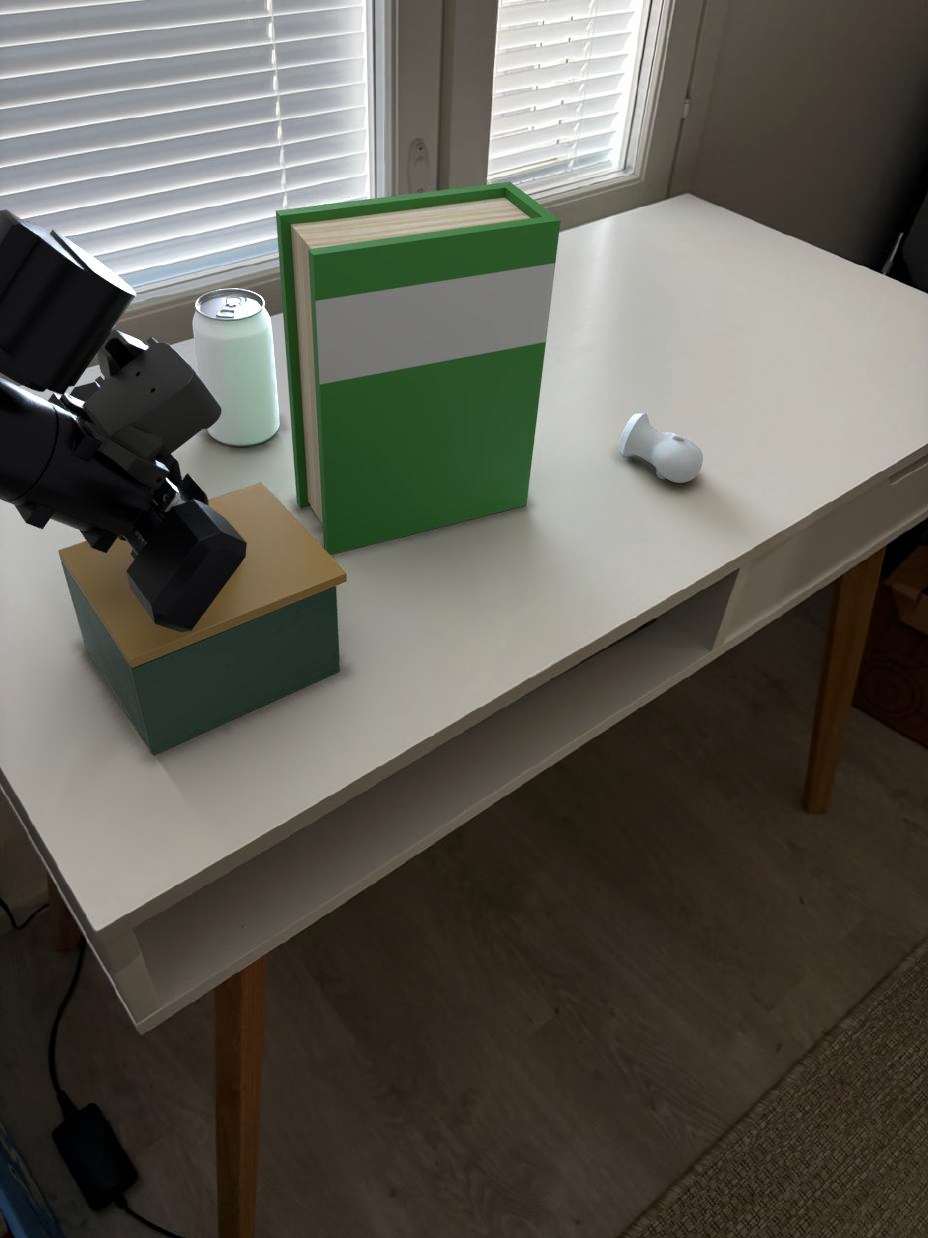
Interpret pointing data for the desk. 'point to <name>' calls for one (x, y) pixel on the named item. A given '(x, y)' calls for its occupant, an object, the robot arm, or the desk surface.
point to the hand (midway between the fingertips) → (237, 543)
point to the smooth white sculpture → (661, 450)
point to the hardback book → (414, 356)
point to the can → (237, 365)
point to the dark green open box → (216, 668)
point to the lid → (264, 582)
